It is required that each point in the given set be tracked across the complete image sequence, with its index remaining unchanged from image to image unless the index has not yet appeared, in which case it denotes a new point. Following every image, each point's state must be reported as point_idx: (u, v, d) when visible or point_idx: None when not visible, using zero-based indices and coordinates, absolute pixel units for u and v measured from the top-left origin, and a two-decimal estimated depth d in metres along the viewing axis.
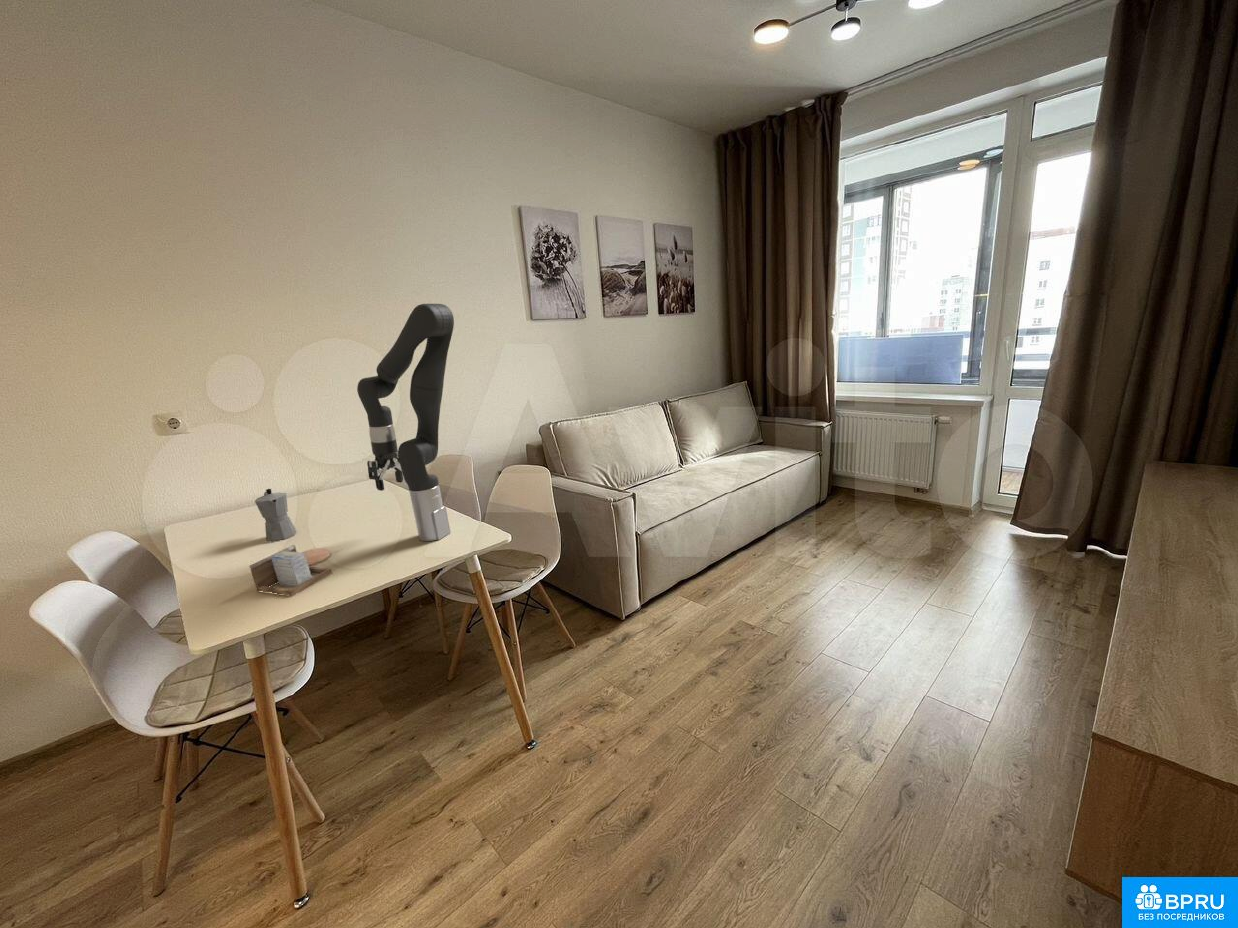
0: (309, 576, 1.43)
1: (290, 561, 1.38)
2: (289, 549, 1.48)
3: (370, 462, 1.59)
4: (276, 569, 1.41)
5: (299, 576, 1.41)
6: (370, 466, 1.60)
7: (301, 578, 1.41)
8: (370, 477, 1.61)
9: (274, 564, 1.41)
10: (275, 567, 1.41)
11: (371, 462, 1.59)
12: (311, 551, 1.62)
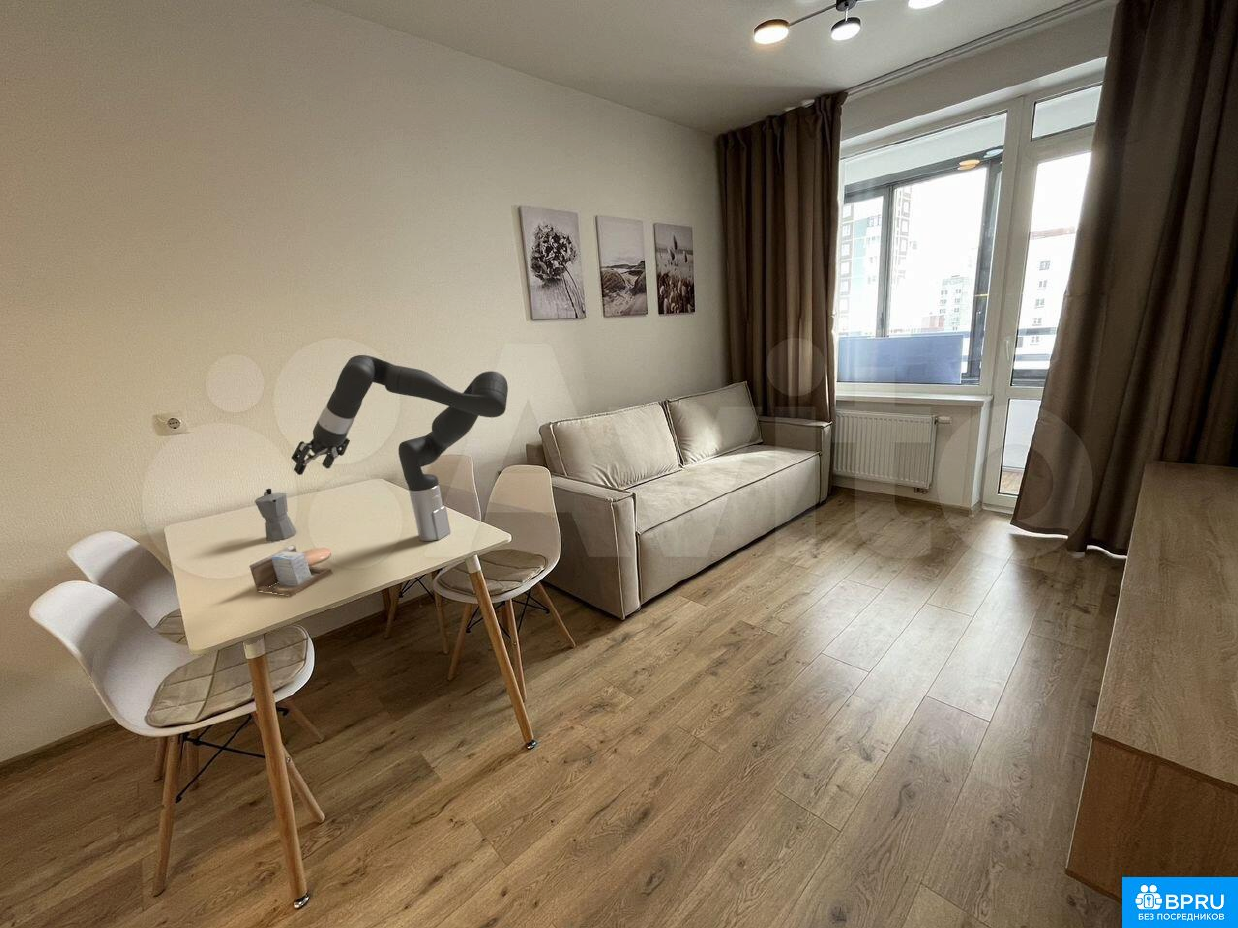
0: (309, 576, 1.43)
1: (290, 561, 1.38)
2: (289, 549, 1.48)
3: (303, 444, 1.27)
4: (276, 569, 1.41)
5: (299, 576, 1.41)
6: (300, 449, 1.27)
7: (301, 578, 1.41)
8: (293, 458, 1.29)
9: (274, 564, 1.41)
10: (275, 567, 1.41)
11: (304, 446, 1.27)
12: (311, 551, 1.62)
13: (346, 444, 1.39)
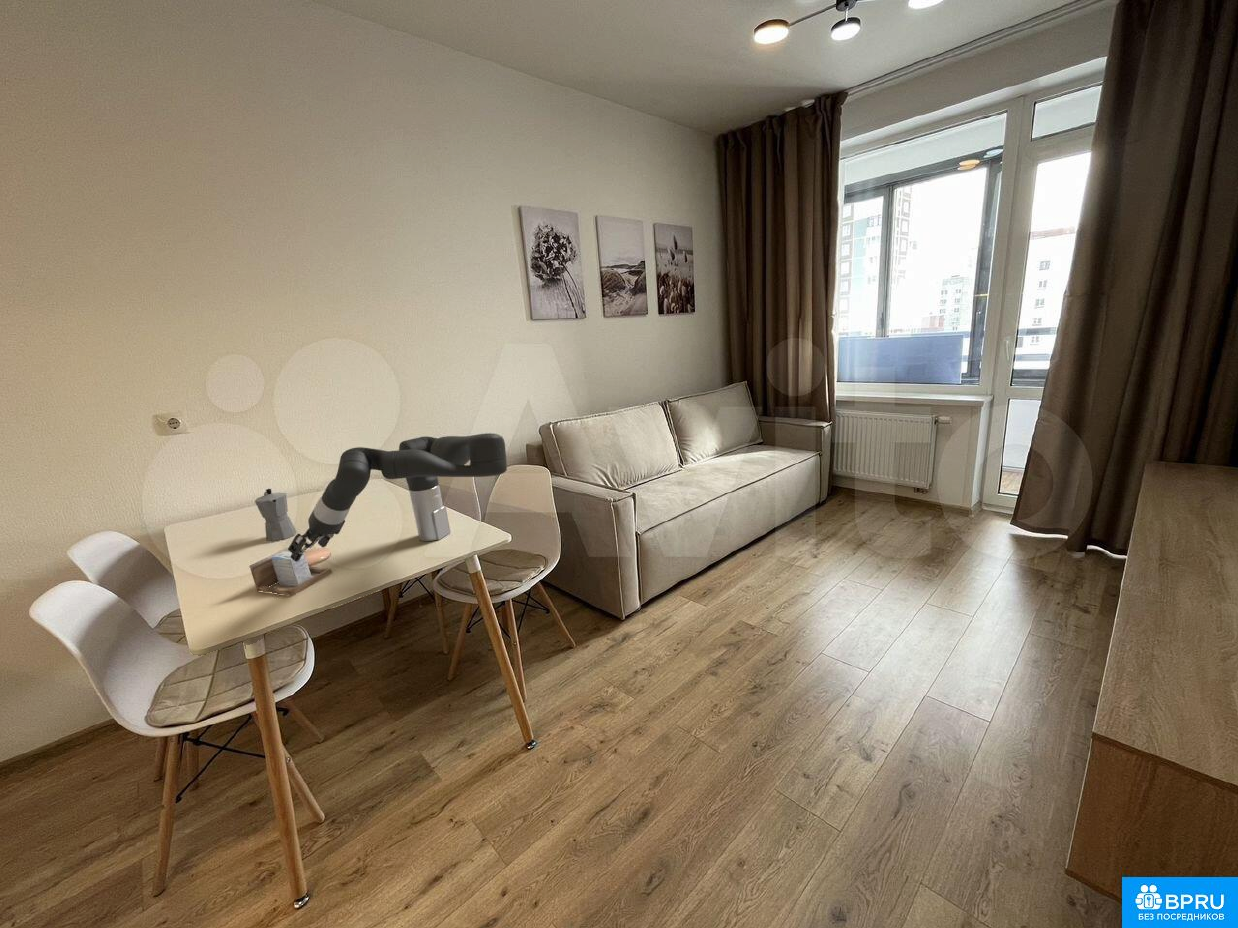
0: (309, 576, 1.43)
1: (290, 561, 1.38)
2: None
3: (299, 538, 1.26)
4: (276, 569, 1.41)
5: (299, 576, 1.41)
6: (297, 541, 1.26)
7: (301, 578, 1.41)
8: (289, 549, 1.28)
9: (274, 564, 1.41)
10: (275, 567, 1.41)
11: (300, 539, 1.26)
12: (311, 551, 1.62)
13: (341, 524, 1.38)
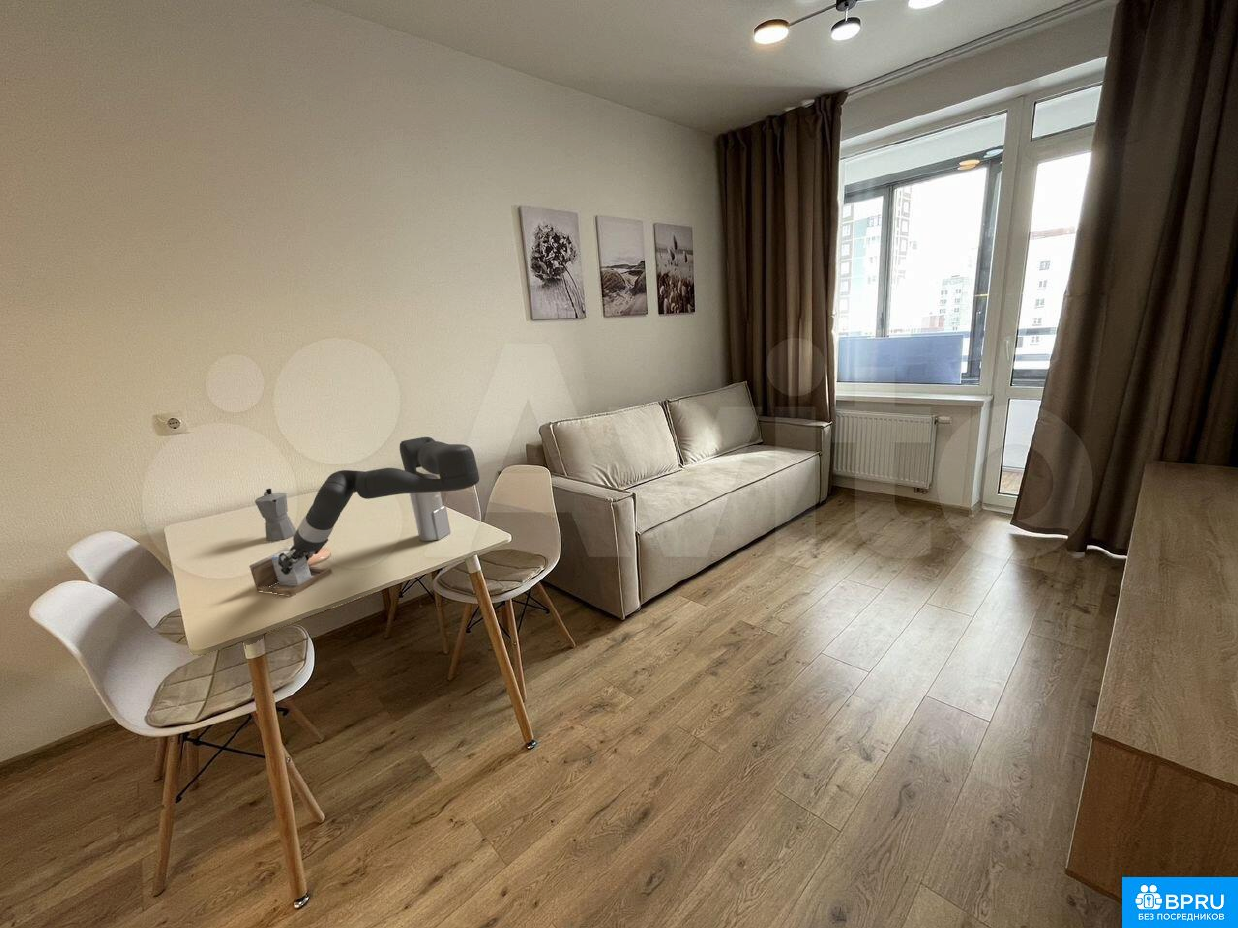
0: (309, 576, 1.43)
1: (290, 561, 1.38)
2: (289, 549, 1.48)
3: (282, 557, 1.32)
4: (276, 569, 1.41)
5: (299, 576, 1.41)
6: (281, 560, 1.33)
7: (301, 578, 1.41)
8: (279, 564, 1.35)
9: (274, 564, 1.41)
10: (275, 567, 1.41)
11: (283, 558, 1.32)
12: None
13: (324, 543, 1.44)
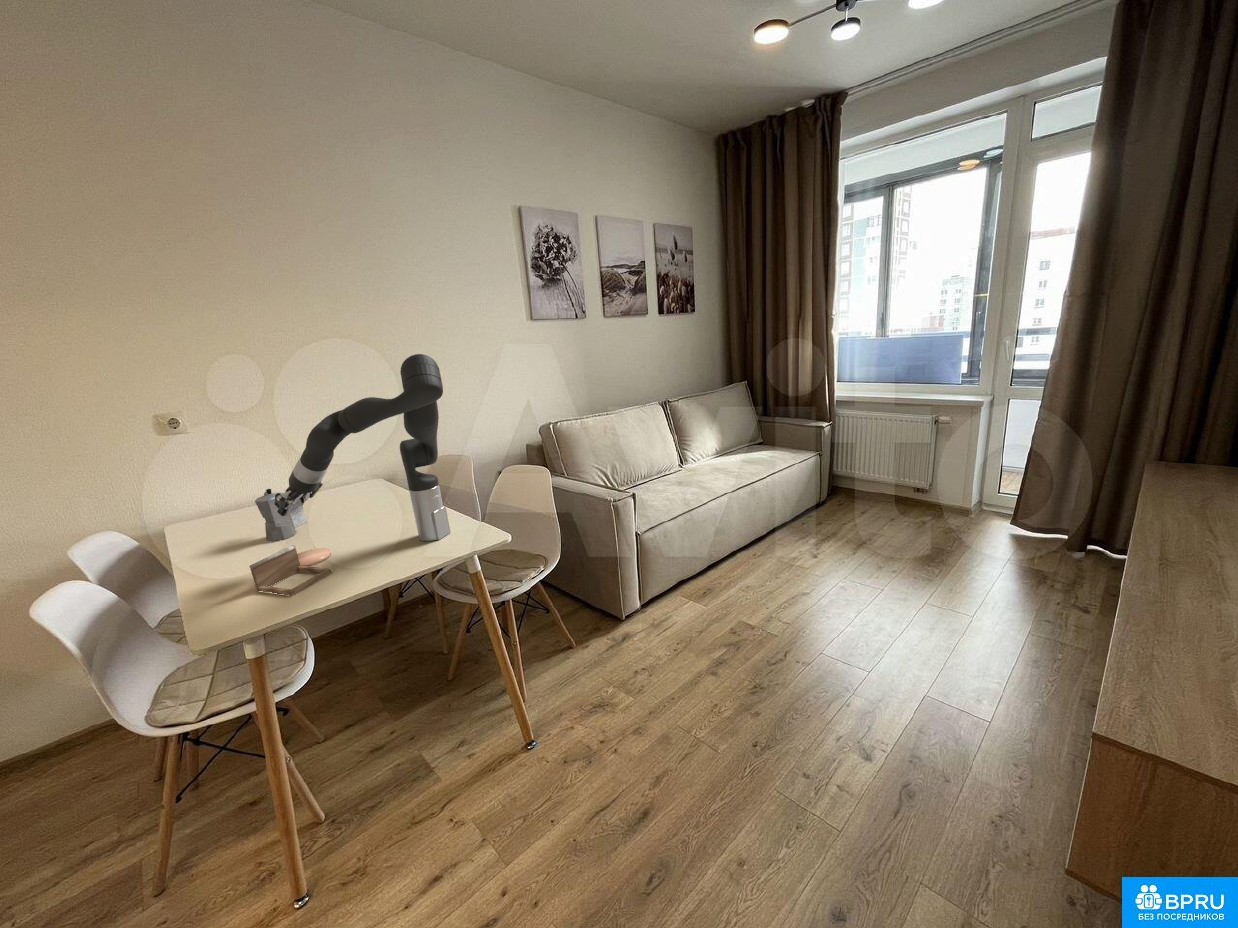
0: (304, 518, 1.50)
1: (286, 503, 1.45)
2: (289, 549, 1.48)
3: (278, 497, 1.39)
4: (273, 511, 1.48)
5: (295, 518, 1.47)
6: (277, 500, 1.40)
7: (296, 520, 1.48)
8: (276, 504, 1.42)
9: (271, 506, 1.48)
10: (272, 509, 1.48)
11: (279, 498, 1.39)
12: (311, 551, 1.62)
13: (318, 487, 1.50)
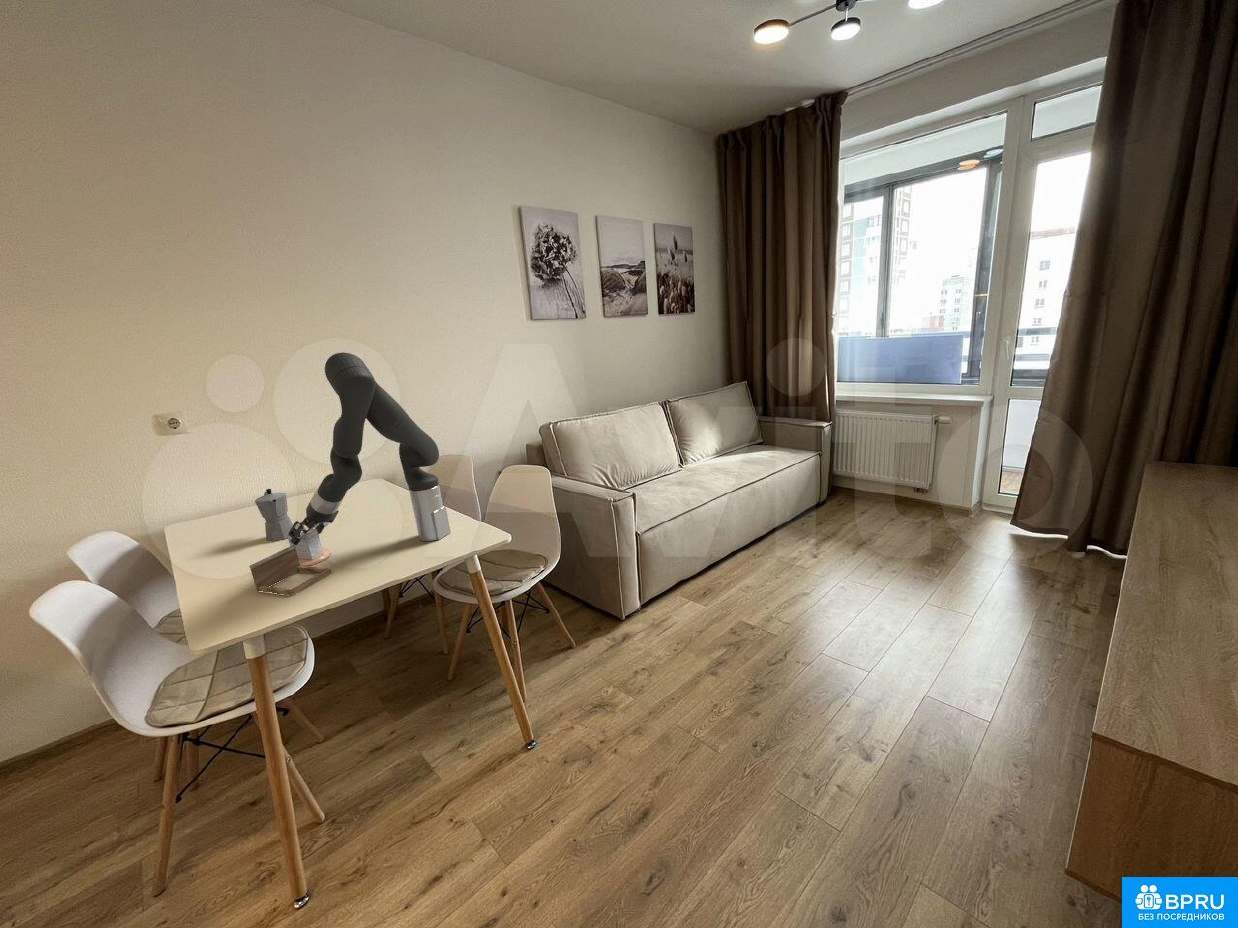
0: (321, 550, 1.58)
1: (305, 536, 1.53)
2: (289, 549, 1.48)
3: (297, 524, 1.46)
4: (291, 544, 1.56)
5: (313, 550, 1.55)
6: (295, 528, 1.46)
7: (314, 552, 1.56)
8: (289, 534, 1.48)
9: (289, 539, 1.56)
10: (290, 542, 1.56)
11: (298, 526, 1.46)
12: None
13: (335, 514, 1.58)
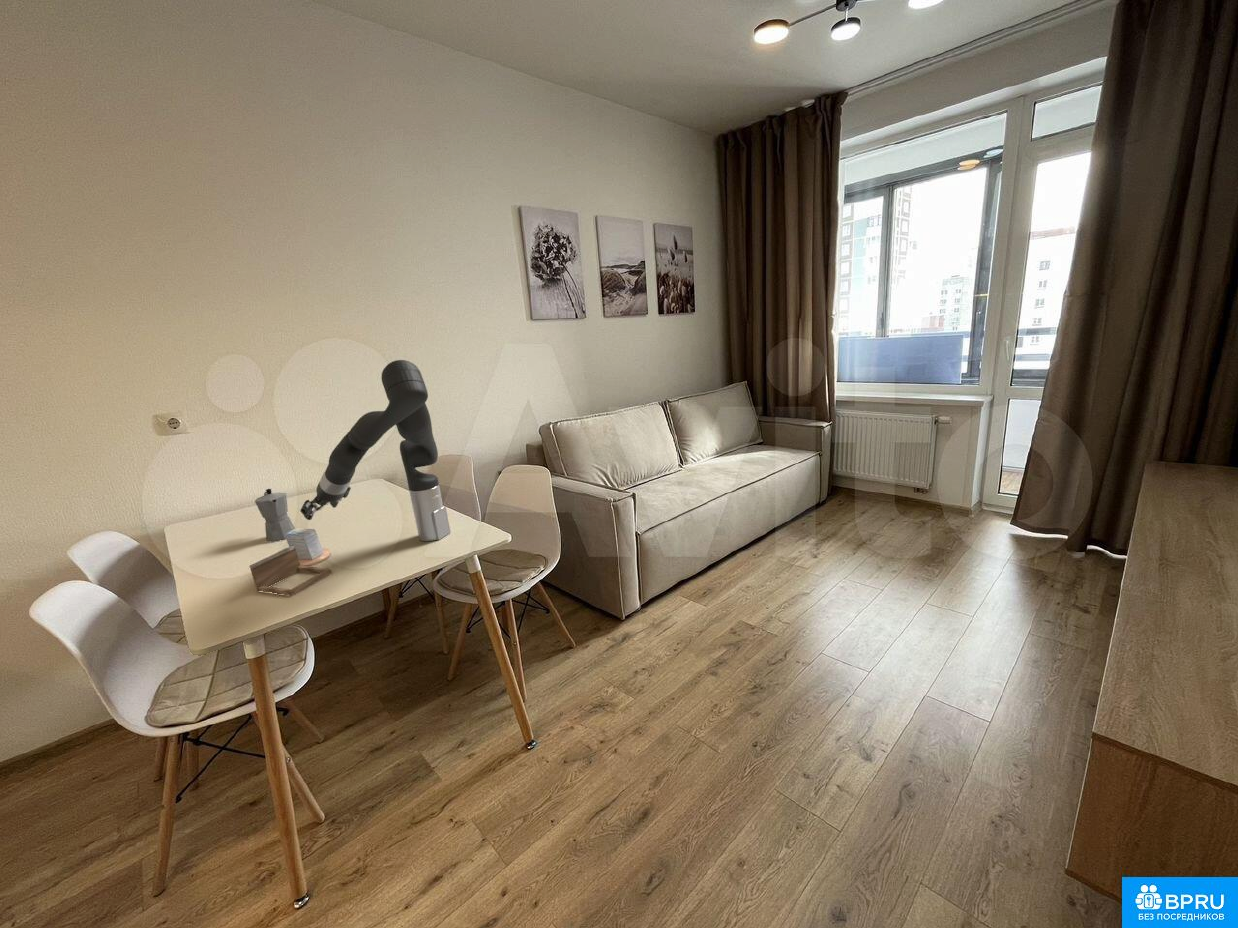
0: (321, 550, 1.58)
1: (303, 537, 1.53)
2: (289, 549, 1.48)
3: (308, 503, 1.48)
4: (290, 544, 1.56)
5: (312, 550, 1.55)
6: (306, 506, 1.48)
7: (314, 552, 1.56)
8: (301, 511, 1.50)
9: (288, 540, 1.55)
10: (289, 543, 1.55)
11: (309, 505, 1.48)
12: None
13: (348, 491, 1.59)
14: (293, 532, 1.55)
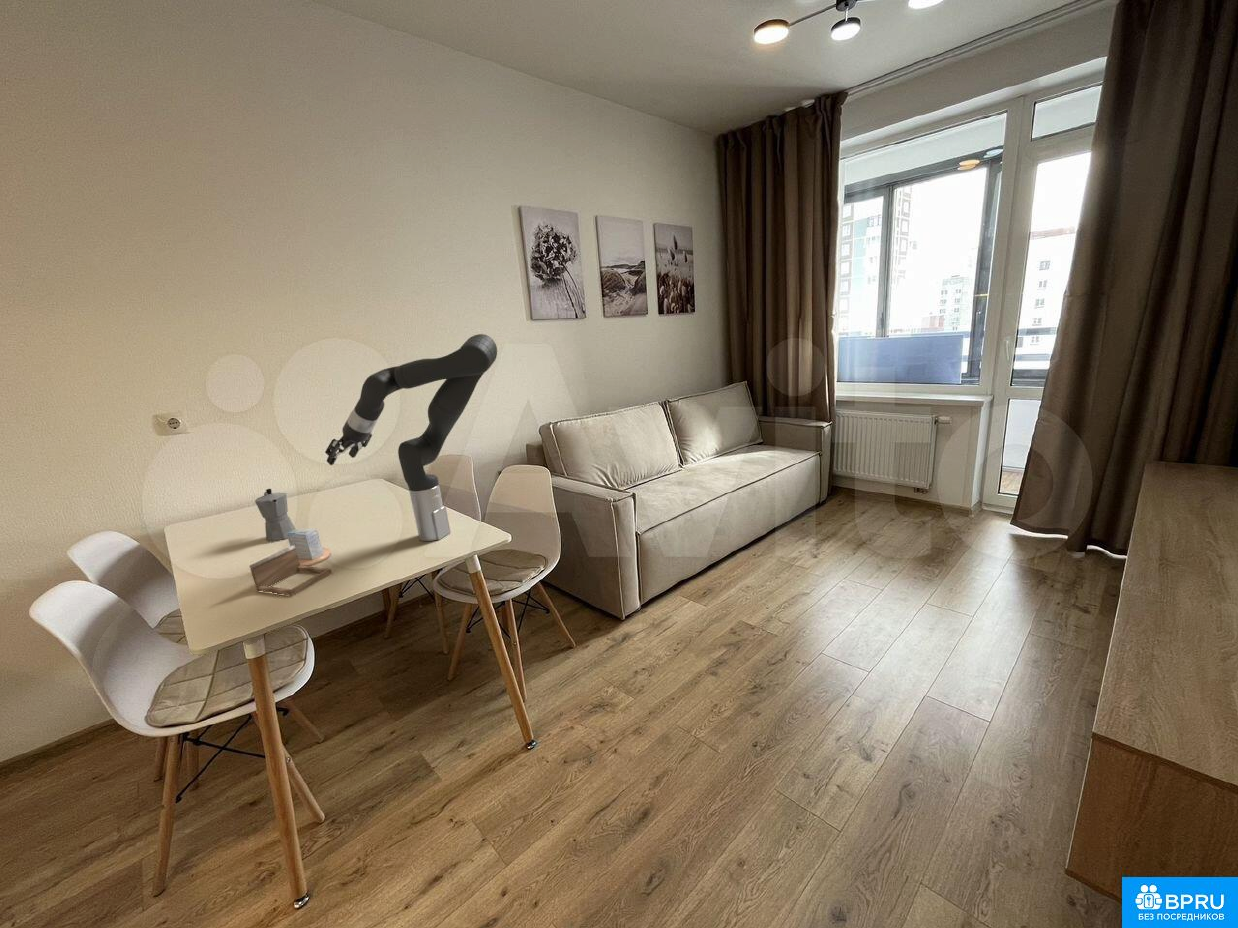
0: (321, 550, 1.58)
1: (305, 536, 1.53)
2: (289, 549, 1.48)
3: (335, 442, 1.51)
4: (291, 544, 1.56)
5: (313, 550, 1.55)
6: (333, 445, 1.52)
7: (314, 552, 1.56)
8: (326, 452, 1.53)
9: (289, 539, 1.56)
10: (290, 542, 1.56)
11: (336, 443, 1.51)
12: None
13: (369, 438, 1.64)
14: (295, 531, 1.56)
